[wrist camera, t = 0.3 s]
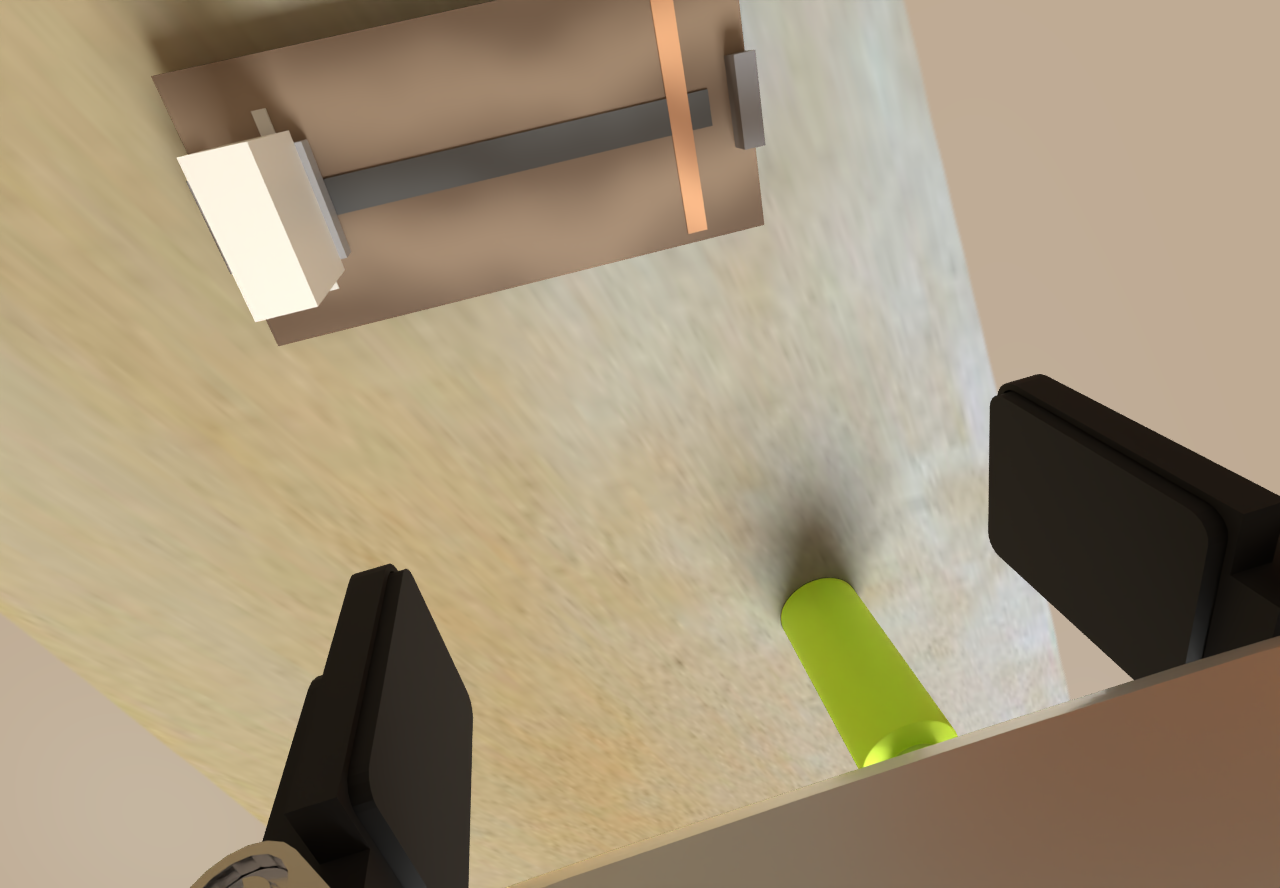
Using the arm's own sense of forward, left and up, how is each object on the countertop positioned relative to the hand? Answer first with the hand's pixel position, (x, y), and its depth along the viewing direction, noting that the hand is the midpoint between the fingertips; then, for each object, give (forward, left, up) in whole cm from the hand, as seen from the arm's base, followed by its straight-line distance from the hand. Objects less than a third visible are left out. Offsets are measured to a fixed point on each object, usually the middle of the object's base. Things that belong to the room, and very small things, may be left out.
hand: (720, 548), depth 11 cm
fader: (-4, -11, -27) cm, 30 cm away
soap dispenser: (+31, +11, -30) cm, 44 cm away
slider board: (-4, -2, -29) cm, 30 cm away
